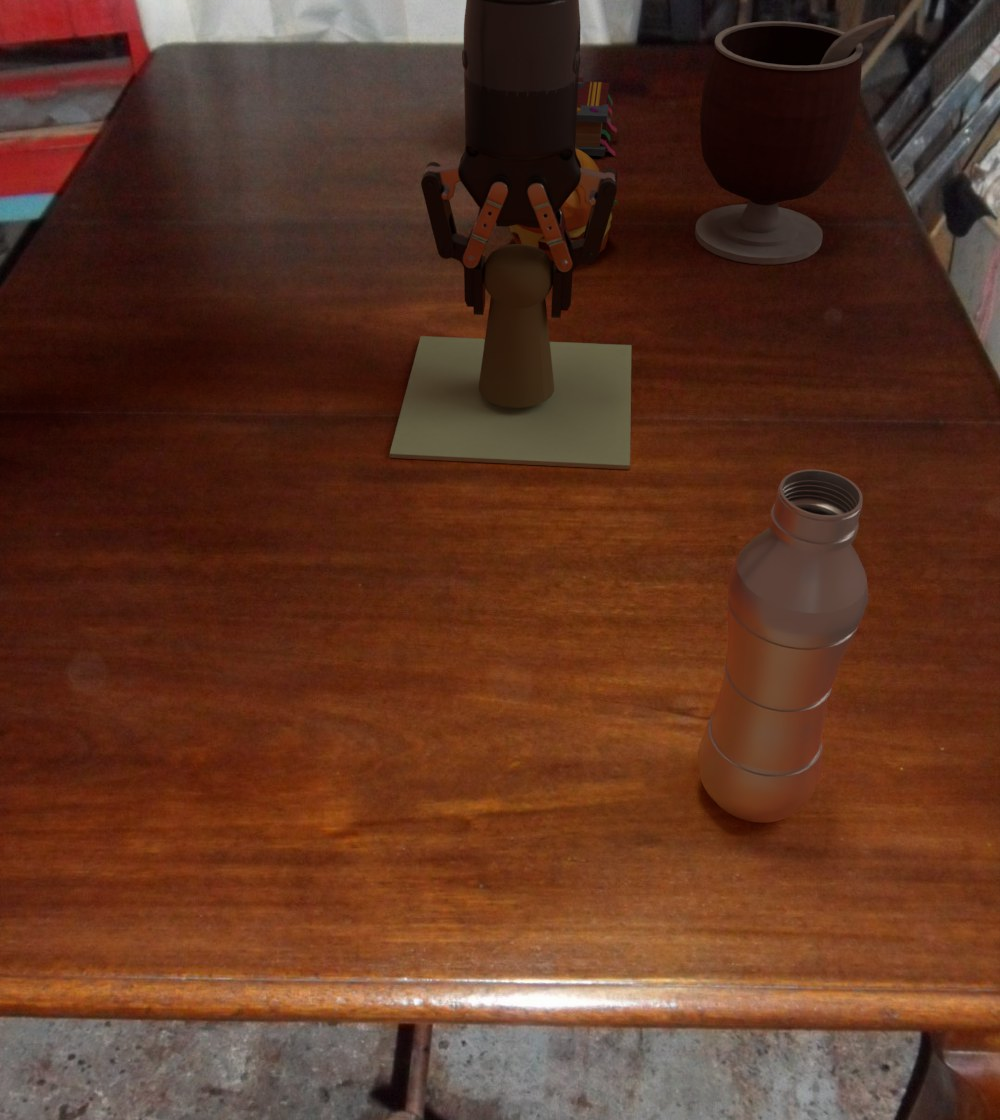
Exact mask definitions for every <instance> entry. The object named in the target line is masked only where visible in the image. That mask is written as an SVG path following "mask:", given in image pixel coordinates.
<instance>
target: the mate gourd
mask: <svg viewBox="0 0 1000 1120" xmlns="http://www.w3.org/2000/svg"><path fill="white" fill-rule="evenodd" d="M895 22H896V15H895V14H890V15H887V16H882V17H878V18H876V19H873V20H870V21H868V22H865V23H863V24H859V25H857V26H855V27H853V28H851V29H849V30H847V31H842V30H839V29H836V28H833V27H828V26H825V25H819V24H814V23H808V22H800V21H786V20H785V21H784V20H783V21H781V20H774V21H773V20H768V21H767V20H766V21H753V22H747V23H742V24H737V25H734V26H731V27H730V26H729V27H728V28H725V29H723V30H722V31H720V32H718V34H717V35H716V36H715V38H714V46H713V49H712V52H711V54H710V59H709V62H708V66H707V70H706V74H705V78H704V82H703V86H702V93H701V94H702V95H701V103H700V112H699V121H700V122H699V126H700V127H699V128H700V129H699V132H700V135H699V136H700V146H701V154H702V158H703V161H704V163H705V165H706V167H707V168H708V170H709V171H710V174H711V175H712V177H713V179H714V180H715V182H716V184H717V185H718V186H719V187H721V188H722V189H723V190H725V191H727V192H728V193H731V194H733V195H736V196H738V197H741V198H743V199H746V200H748V203H742V204H729V205H724V206H721V207H716V208H714V209H711V210H709V211H706V212H705V213H704V214H702V215H701V216H700V217H699V218H698V219H697V220H696V222H695V229H694V236H695V240H696V241H697V242H698V244H699V245H700V246H701V247H702V248H704V249H705V250H706V251H708V252H710V253H711V254H713V255H716V256H717V257H721V258H723V259H726V260H731V261H734V262H738V263H743V264H751V265H762V266H763V265H765V266H767V265H769V266H770V265H785V264H790V263H795V262H796V263H797V262H799V261H803V260H806V259H808V258H809V257H811V256H813V255H814V254H815V253H817V252H818V251H819V250H820V248H821V246H822V244H823V235H824V234H823V230H822V227H820V225H819V224H818V223H817V222H816V221H815V220H813V219H811V218H810V217H809V216H807V215H806V214H803V213H801V212H798V211H795V210H793V209H790V208H785V207H781V206H779V205H778V203H782V202H787V201H792V200H797V199H802V198H805V197H807V196H809V195H812V194H813V193H815V192H816V191H817V190H818V189H820V187H821V186H822V185H823V184H824V183H825V182H826V181H827V180H828V179H829V178H830V177H831V176H833V174H834V173H835V172H836V171H837V169H838V168H839V166H840V164H841V162H842V160H843V157H844V155H845V152H846V151H847V147H848V145H849V142H850V139H851V136H852V133H853V130H854V128H855V124H856V119H857V114H858V108H859V103H860V99H861V88H862V87H861V86H862V72H863V71H862V55H863V52H864V46H863V44H862V42H863V41H864V40H865V39H866V38H868V37H869V36H871V35H872V34H874V33H875V32H877V31H879V30H881V29H883V28H885V27H892V26H895V24H896V23H895Z"/></svg>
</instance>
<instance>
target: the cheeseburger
mask: <svg viewBox="0 0 1000 1120" xmlns="http://www.w3.org/2000/svg"><path fill="white" fill-rule="evenodd" d="M575 150H576V154H577V157H578V159H579V161H580V164H581V167H583V168H586V169H590V170H594V171H598V172H601V171H600V168H599V167H598V165H597V164H596V162H595V161H594V159H593V158H592V157H590V156H588V155H587V154H586V153H584V152H582V151H581V150H579V149H575ZM584 197H585V192H584V190H583V188H582V187H581V186H577V187H576V188H575V190H574V191H573V192H572V194H571V195H570V196H569V197H568V199H567V200H566V201H565V203H564V204H563V205H562V206H561V209H562V212H563V215H564V218H565V223H566V227H567V230H568V233H569V236H570V239H571V242H573V241H576V240H579V239H582V238H583V236H584V232H585V229H586V225H587V221H588V218H589V214H590V211H591V207H592V206H589V205H588V204H587V203H586V202H585V198H584ZM616 204H619V202H618V200H617V199H615V200H614V203H613V207H615V206H616ZM612 220H613V215H612V212H611V213H610V217H609V220H608V224H607V227H606V231H605V234H604V238H603V241H602V245H601V248H600V252H599V254H600V253H601V252H602V251H604V250H605V248H606V244H607V243H608V238H609V235H610V231H611V227H612V226H611V221H612ZM508 228H509V231H510V233H511V234H512V237H513V240H514V244H526V245H531V246H534V247H537V248H539V249H541V250H543V251H544V252H546V254H547V255H548V256H549V258H550V260H551V261H552V262H554V259H553V256H552V254H551V251H550V248H549V246H548V245H547V244H546V241H545V238H544V236H543V233H542V230H541V227H540V228H529V227H526V226H523V225H519V224H516V225H512V226H508Z"/></svg>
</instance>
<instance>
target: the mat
mask: <svg viewBox="0 0 1000 1120" xmlns="http://www.w3.org/2000/svg"><path fill="white" fill-rule="evenodd" d="M484 343H485V338H477V337H476V338H475V337H451V336H429V335H420V337H419V340H418V343H417V348H416V351H415V355H414V360H413V363H412V366H411V371H410V374H409V377H408V383H407V386H406V389H405V392H404V397H403V401H402V403H401V404H402V405H401V408H400V412H399V416H398V420H397V423H396V428H395V431H394V435H393V439H392V442H391V446H390V450H389V458H390V459H404V460H425V461H444V462H445V461H447V462H466V463H468V462H469V463H488V464H504V465H505V464H508V465H509V464H510V465H528V466H547V467H548V466H550V467H568V468H569V467H570V468H586V469H587V468H589V469H591V468H592V469H606V470H607V469H608V470H609V469H610V470H629V471H630V469H631V432H632V431H631V429H632V427H631V426H632V425H631V424H632V421H631V419H632V352H633V351H632V348H633V346H632V344H614V343H592V342H588V343H587V342H568V341H550V350H551V360H552V370H553V380H554V392H553V394H552V396H551V397H550V398H549V399H547V400H546V401H545V402H543V403H540V404H537V405H535V406H529V407H523V408H511V407H505V406H500V405H497V404H494V403H492V402H489V401H488V400H487V399H485V398H484V397H483V396H482V395H481V393H480V391H479V380H480V373H481V365H482V358H483V351H484Z"/></svg>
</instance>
